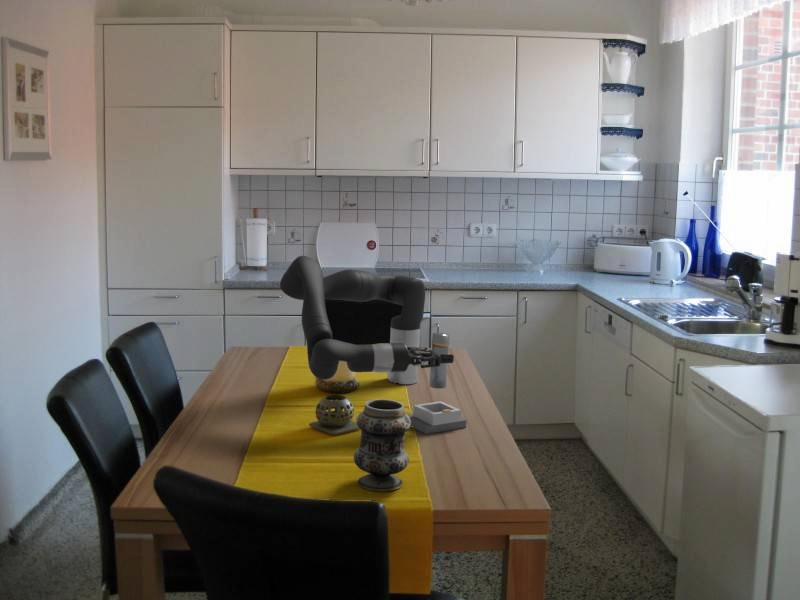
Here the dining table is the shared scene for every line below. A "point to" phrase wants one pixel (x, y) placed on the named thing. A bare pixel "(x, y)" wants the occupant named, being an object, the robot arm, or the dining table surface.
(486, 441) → the dining table surface
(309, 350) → the robot arm
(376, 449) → the apothecary jar
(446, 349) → the metal canister
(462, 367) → the dining table surface
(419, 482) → the dining table surface
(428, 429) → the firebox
